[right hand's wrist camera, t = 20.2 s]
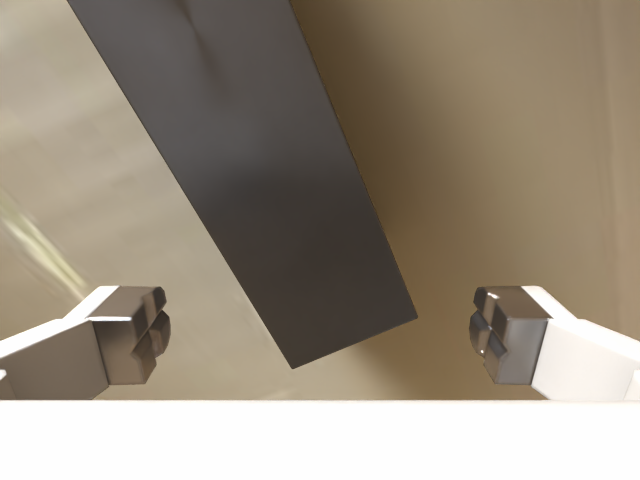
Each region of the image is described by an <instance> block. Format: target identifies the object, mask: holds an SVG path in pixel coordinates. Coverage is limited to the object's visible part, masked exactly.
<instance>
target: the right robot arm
mask: <svg viewBox="0 0 640 480" xmlns="http://www.w3.org/2000/svg"><path fill="white" fill-rule="evenodd" d="M166 302H167V301H166V297H165V292H164V290H163V289H162V288H161V287H145V286H100V287H98V288H97V289H96V290H95V291H93V292H92V293H91V294H90V295H89V296H88V297H87V298H86V299H84V300H83V301H82V302H81V303H80V304H79V305H78V306H77V307H75V308H74V309H73V310H72V311H71V312H70V313H69V314H68V315H66V316H65V317H64V318H63V319H55V320H52V321H50V322H47V323H45V324H42V325H40V326H37V327H35V328H32V329H30V330H27V331H25V332H22V333H20V334H17V335H15V336H12V337H10V338H7V339H5V340H2V341H0V480H640V341H638V340H635V339H633V338H630V337H628V336H625V335H623V334H620V333H618V332H615V331H613V330H610V329H608V328H605V327H603V326H600V325H598V324H595V323H593V322H590V321H588V320H585V319H577V318H576V317H575V316H574V315H573V314H571V313H570V312H569V311H568V310H567V309H566V308H565V307H564V306H562V305H561V304H560V303H559V302H558V301H557V300H556V299H555V298H553V297H552V296H551V295H550V294H549V293H548V292H547V291H546V290H544V289H543V288H542V287H540V286H499V287H479V288H477V290H476V292H475V296H474V301H473V302H474V304H475V306H476V307H477V309H478V310H477V311H476V312H475V313H474V314H473V315H472V316H471V319H470V326H469V331H470V340H471V343H472V346H473V348H474V350H475V351H476V353H477V354H479V355H481V356H482V357H484V358H485V359H484V367H485V368H486V370H487V372H488V373H489V375H490V377H491V378H492V380H493V382H494V383H495V384H510V385H531V387H532V388H534V389H535V390H536V391H538V392H539V393H540V394H542V395H543V396H544V397H546V398H547V399H548V400H92V399H93V398H94V397H96V396H97V395H98V394H100V393H101V392H103V391H104V390H105V389H107V388H108V387H109V385H129V384H145V383H146V382H147V380H148V378H149V377H150V375H151V373H152V372H153V370H154V368H155V367H156V359H155V358H156V357H158V356H159V355H161V354H163V353H164V351H165V349H166V348H167V346H168V343H169V338H170V332H171V325H170V319H169V316H168V315H167V314H166V313H165V312H164V311H163V310H162V309H163V307H164V306H165V304H166Z"/></svg>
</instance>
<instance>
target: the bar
mask: <svg viewBox="0 0 640 480" xmlns="http://www.w3.org/2000/svg"><path fill="white" fill-rule="evenodd" d="M67 2H68V3H69V5H70V6H71V8H72V10H73V11H74V13H75V15H76V16H77V18H78V20H79V21H80V23H81V25H82V26H83V28H84V29H85V31H86V33H87V34H88V36H89V38H90V39H91V41H92V43H93V44H94V46H95V47H96V49H97V51H98V52H99V54H100V56H101V57H102V59H103V61H104V62H105V64H106V65H107V67H108V69H109V70H110V72H111V74H112V75H113V77H114V79H115V80H116V82H117V83H118V85H119V87H120V88H121V90H122V92H123V93H124V95H125V97H126V98H127V100H128V101H129V103H130V105H131V106H132V108H133V110H134V111H135V113H136V115H137V116H138V118H139V119H140V121H141V123H142V124H143V126H144V128H145V129H146V131H147V133H148V134H149V136H150V138H151V139H152V141H153V142H154V144H155V146H156V147H157V149H158V151H159V152H160V154H161V156H162V157H163V159H164V160H165V162H166V164H167V165H168V167H169V169H170V170H171V172H172V174H173V175H174V177H175V178H176V180H177V182H178V183H179V185H180V187H181V188H182V190H183V192H184V193H185V195H186V196H187V198H188V200H189V201H190V203H191V205H192V206H193V208H194V210H195V211H196V213H197V214H198V216H199V218H200V219H201V221H202V223H203V224H204V226H205V228H206V229H207V231H208V233H209V234H210V236H211V237H212V239H213V241H214V242H215V244H216V246H217V247H218V249H219V251H220V252H221V254H222V255H223V257H224V259H225V260H226V262H227V264H228V265H229V267H230V269H231V270H232V272H233V273H234V275H235V277H236V278H237V280H238V282H239V283H240V285H241V287H242V288H243V290H244V291H245V293H246V295H247V296H248V298H249V300H250V301H251V303H252V305H253V306H254V308H255V309H256V311H257V313H258V314H259V316H260V318H261V319H262V321H263V323H264V324H265V326H266V327H267V329H268V331H269V332H270V334H271V336H272V337H273V339H274V341H275V342H276V344H277V346H278V347H279V349H280V350H281V352H282V354H283V355H284V357H285V359H286V360H287V362H288V364H289V365H290V367H291V368H292V369H295V368H297V367H300V366H302V365H304V364H307V363H309V362H312V361H314V360H317V359H319V358H322V357H324V356H326V355H329V354H331V353H334V352H336V351H339V350H341V349H343V348H346V347H348V346H351V345H353V344H356V343H358V342H361V341H363V340H365V339H368V338H370V337H373V336H375V335H378V334H380V333H383V332H385V331H387V330H390V329H392V328H395V327H397V326H400V325H402V324H404V323H407V322H409V321H412V320H414V319H417V318H418V315H417V313H416V310H415V308H414V305H413V303H412V300H411V298H410V295H409V293H408V290H407V288H406V286H405V283H404V281H403V278H402V276H401V273H400V271H399V268H398V266H397V263H396V261H395V258H394V256H393V253H392V251H391V249H390V246H389V244H388V241H387V239H386V236H385V234H384V231H383V229H382V226H381V224H380V221H379V219H378V216H377V214H376V212H375V209H374V207H373V204H372V202H371V199H370V197H369V194H368V192H367V189H366V187H365V184H364V182H363V179H362V177H361V175H360V172H359V170H358V167H357V165H356V162H355V160H354V157H353V155H352V152H351V150H350V147H349V145H348V142H347V140H346V138H345V135H344V133H343V130H342V128H341V125H340V123H339V120H338V118H337V115H336V113H335V110H334V108H333V105H332V103H331V101H330V98H329V96H328V93H327V91H326V88H325V86H324V83H323V81H322V78H321V76H320V73H319V71H318V69H317V66H316V64H315V61H314V59H313V56H312V54H311V51H310V49H309V46H308V44H307V41H306V39H305V36H304V34H303V32H302V29H301V27H300V24H299V22H298V19H297V17H296V14H295V12H294V9H293V7H292V4H291V2H290V0H67Z"/></svg>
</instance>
